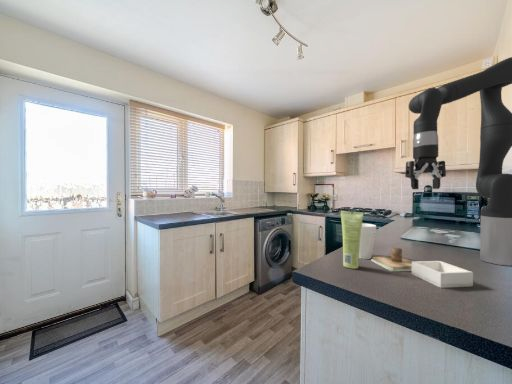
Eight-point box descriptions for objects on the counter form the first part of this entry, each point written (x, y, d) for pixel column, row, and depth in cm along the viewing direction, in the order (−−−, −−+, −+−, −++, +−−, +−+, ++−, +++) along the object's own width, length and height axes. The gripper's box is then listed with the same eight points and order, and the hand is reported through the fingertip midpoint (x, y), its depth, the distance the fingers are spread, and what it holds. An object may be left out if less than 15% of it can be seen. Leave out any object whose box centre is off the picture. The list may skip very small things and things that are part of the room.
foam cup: (379, 261, 83) (379, 227, 83) (353, 259, 85) (353, 226, 85) (371, 253, 93) (371, 223, 93) (348, 252, 95) (348, 222, 94)
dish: (439, 272, 72) (440, 260, 72) (472, 286, 62) (473, 272, 62) (411, 273, 71) (411, 261, 71) (440, 287, 61) (440, 273, 61)
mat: (400, 259, 85) (400, 258, 85) (424, 270, 74) (424, 268, 74) (371, 260, 84) (371, 259, 84) (391, 271, 73) (391, 269, 73)
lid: (399, 258, 85) (399, 244, 85) (423, 268, 74) (423, 252, 74) (372, 259, 84) (372, 245, 84) (393, 269, 73) (393, 253, 73)
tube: (352, 263, 81) (352, 210, 80) (363, 268, 76) (363, 212, 76) (339, 265, 79) (340, 211, 78) (350, 270, 74) (350, 212, 74)
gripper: (433, 147, 86) (433, 188, 86) (399, 147, 84) (400, 189, 84) (452, 143, 78) (452, 188, 78) (416, 143, 77) (416, 189, 77)
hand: (425, 189), depth 81 cm, fingers open, 8 cm apart
